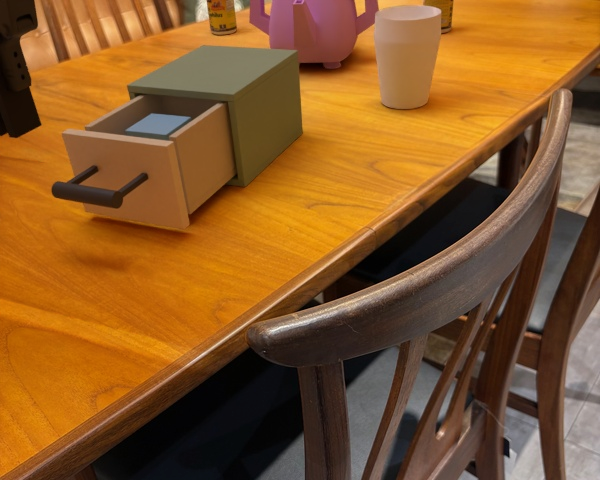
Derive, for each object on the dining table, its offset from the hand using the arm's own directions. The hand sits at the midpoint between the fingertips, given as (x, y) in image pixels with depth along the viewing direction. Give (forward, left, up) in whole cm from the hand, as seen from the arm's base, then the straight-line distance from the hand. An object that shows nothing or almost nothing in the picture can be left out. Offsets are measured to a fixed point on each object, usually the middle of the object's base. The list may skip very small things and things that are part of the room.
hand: (18, 129), depth 48 cm
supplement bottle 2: (+12, +93, -15) cm, 95 cm away
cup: (+17, +53, -15) cm, 57 cm away
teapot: (-4, +70, -15) cm, 72 cm away
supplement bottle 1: (-31, +85, -15) cm, 92 cm away
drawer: (0, +15, -14) cm, 20 cm away
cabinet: (0, +30, -14) cm, 33 cm away
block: (0, +17, -12) cm, 21 cm away
